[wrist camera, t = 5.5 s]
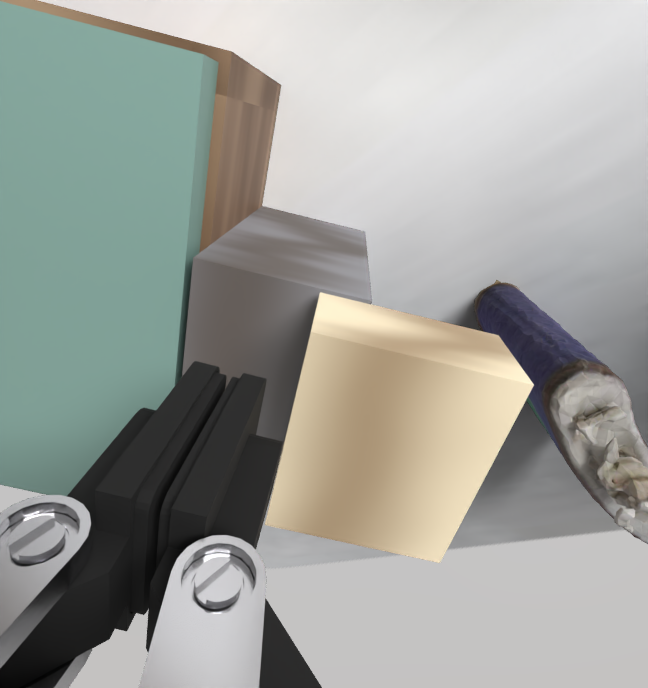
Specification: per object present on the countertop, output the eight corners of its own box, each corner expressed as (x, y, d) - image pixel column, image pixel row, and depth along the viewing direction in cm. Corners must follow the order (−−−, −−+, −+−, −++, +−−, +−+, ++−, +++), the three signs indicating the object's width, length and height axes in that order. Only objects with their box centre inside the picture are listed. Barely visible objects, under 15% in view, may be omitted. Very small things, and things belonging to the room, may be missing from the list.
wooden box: (396, 115, 18) (433, 97, 10) (314, 416, 25) (294, 560, 17) (-157, -30, 17) (-659, -191, 9) (-82, 325, 24) (-319, 428, 16)
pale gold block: (498, 335, 12) (534, 384, 9) (426, 493, 14) (440, 563, 12) (319, 292, 12) (310, 331, 9) (279, 460, 14) (264, 525, 12)
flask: (594, 398, 24) (758, 580, 14) (544, 424, 24) (665, 611, 15) (509, 268, 21) (640, 383, 11) (456, 303, 22) (535, 437, 12)
